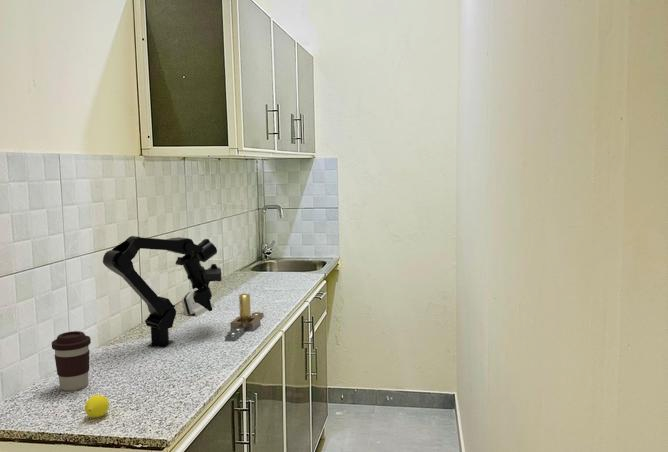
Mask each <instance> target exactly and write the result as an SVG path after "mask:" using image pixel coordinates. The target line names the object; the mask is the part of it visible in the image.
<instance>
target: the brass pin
mask: <svg viewBox="0 0 668 452" xmlns="http://www.w3.org/2000/svg"><path fill="white" fill-rule="evenodd" d="M238 300H239V301H238V302H239V307H238V308H239V317H240V322H251V315H252V313H251V294H250V293H239V295H238Z"/></svg>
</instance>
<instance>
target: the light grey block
mask: <svg viewBox="0 0 668 452" xmlns="http://www.w3.org/2000/svg"><path fill="white" fill-rule="evenodd" d="M196 290H198V289H197V288H195V289H192V290H190V291H188V292H187V293H185V294H184V296H183V297H182V298H181V304H182V308H183V311H184V315H185V316H186V317H188V316H189V315H193V314H194V315H195V317H198V316H200V315H202V314H204V313H205V312H208V310H207V309H206V308H204V307H203V306H202V305H200V304H199V303H195V301H194V299H193V293H194V291H196ZM210 302H211V306H212V309H213V308H215V307H216V306H215V304H214V302H213V301H211V300H210Z"/></svg>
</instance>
